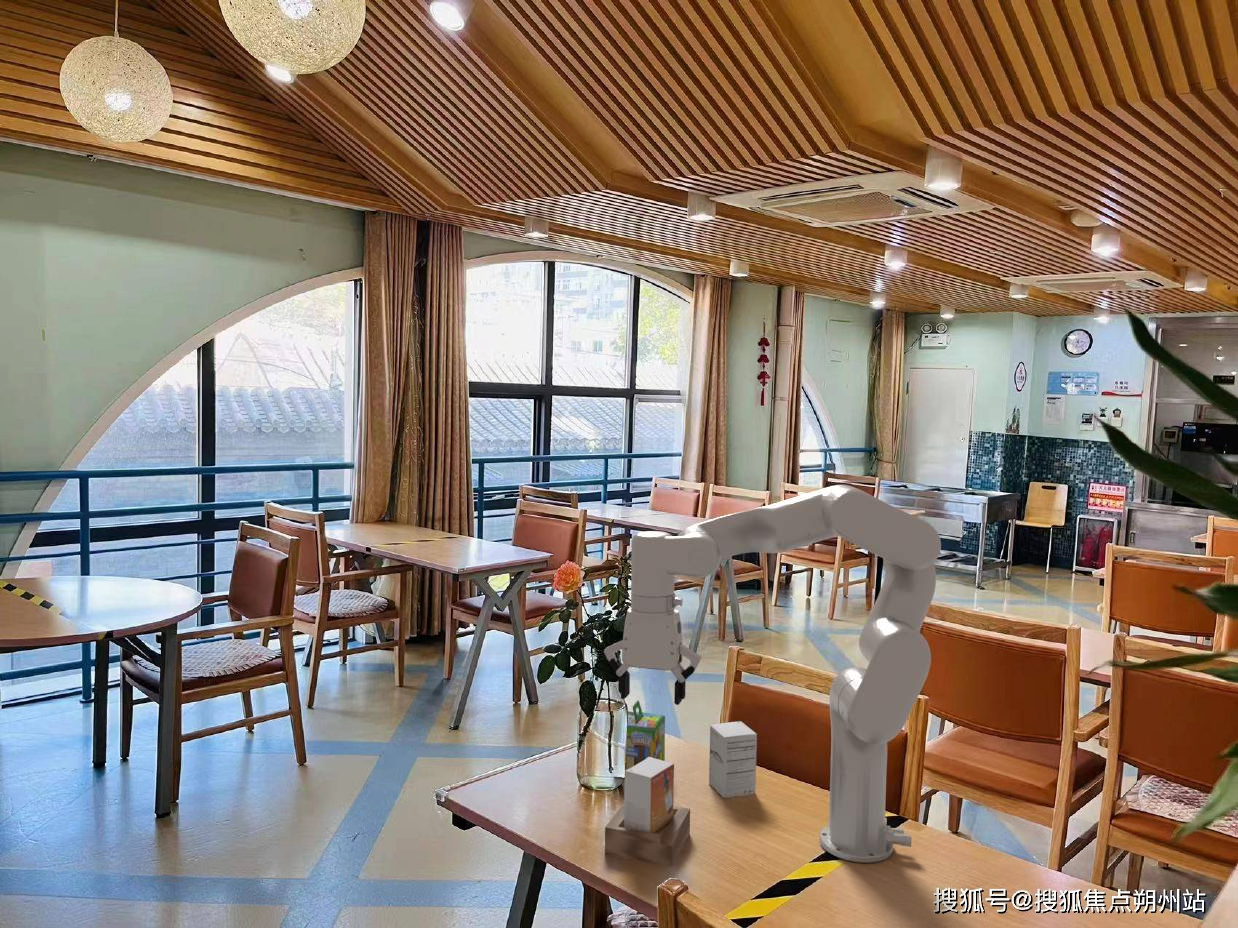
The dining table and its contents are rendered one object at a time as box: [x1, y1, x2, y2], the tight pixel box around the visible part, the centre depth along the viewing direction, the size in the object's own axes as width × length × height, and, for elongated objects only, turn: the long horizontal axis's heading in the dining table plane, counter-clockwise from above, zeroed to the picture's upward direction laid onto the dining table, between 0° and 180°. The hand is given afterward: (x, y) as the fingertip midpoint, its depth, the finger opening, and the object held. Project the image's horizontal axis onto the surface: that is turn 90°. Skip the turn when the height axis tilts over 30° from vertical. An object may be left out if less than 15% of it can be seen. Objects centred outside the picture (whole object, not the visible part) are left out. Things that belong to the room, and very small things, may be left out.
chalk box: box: [625, 700, 666, 770], centre depth 189 cm, size 9×9×15 cm
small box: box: [623, 757, 675, 833], centre depth 158 cm, size 8×6×10 cm
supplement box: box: [708, 720, 758, 799], centre depth 181 cm, size 7×7×13 cm
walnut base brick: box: [604, 803, 691, 868], centre depth 159 cm, size 12×12×5 cm
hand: (651, 699), depth 157 cm, fingers open, 9 cm apart
